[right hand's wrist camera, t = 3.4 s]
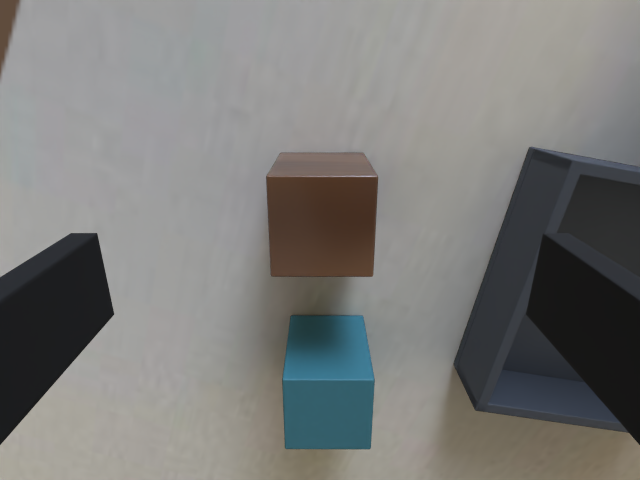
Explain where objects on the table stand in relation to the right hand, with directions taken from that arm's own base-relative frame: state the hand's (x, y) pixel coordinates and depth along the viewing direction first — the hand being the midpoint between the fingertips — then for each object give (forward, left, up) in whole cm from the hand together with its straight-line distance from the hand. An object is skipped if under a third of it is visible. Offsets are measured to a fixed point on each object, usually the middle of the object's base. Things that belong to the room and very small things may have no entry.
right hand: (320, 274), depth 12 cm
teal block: (-8, -6, -11) cm, 15 cm away
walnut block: (0, 0, -11) cm, 11 cm away
